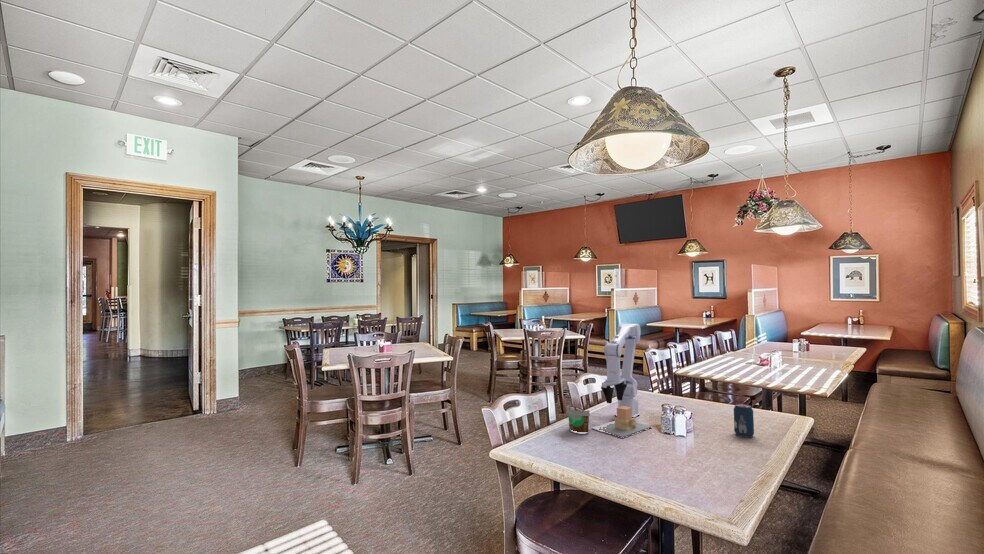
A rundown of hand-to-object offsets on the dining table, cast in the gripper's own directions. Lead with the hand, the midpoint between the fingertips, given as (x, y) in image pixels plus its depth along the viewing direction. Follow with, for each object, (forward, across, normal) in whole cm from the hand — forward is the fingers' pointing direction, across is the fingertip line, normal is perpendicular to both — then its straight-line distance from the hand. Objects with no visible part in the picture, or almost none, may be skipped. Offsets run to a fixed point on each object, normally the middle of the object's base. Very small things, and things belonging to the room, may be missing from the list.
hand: (614, 401), depth 195 cm
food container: (+10, +20, -5) cm, 23 cm away
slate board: (+10, +2, +5) cm, 12 cm away
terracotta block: (+6, +2, +7) cm, 9 cm away
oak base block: (+10, +2, +7) cm, 13 cm away
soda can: (+11, -27, +42) cm, 51 cm away
